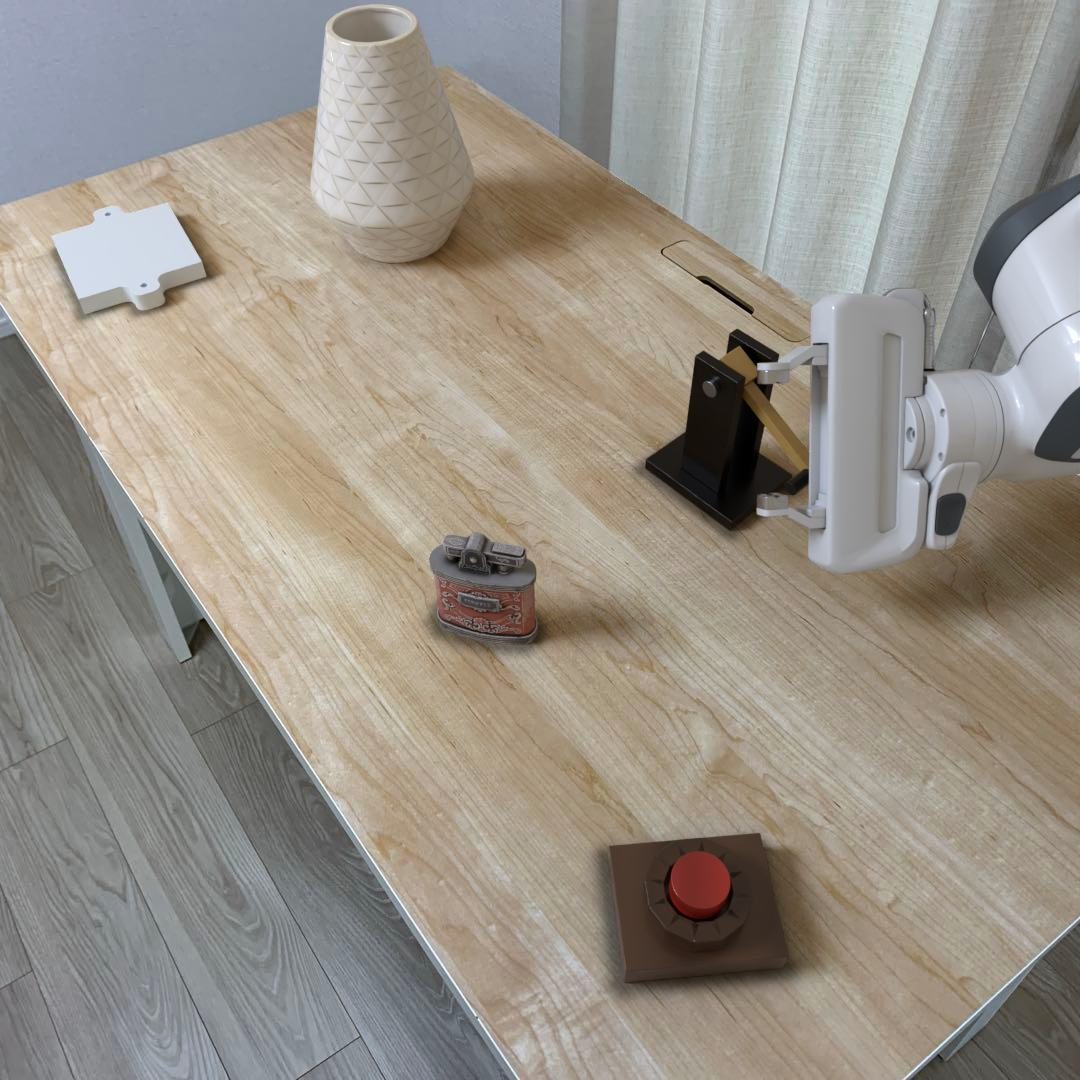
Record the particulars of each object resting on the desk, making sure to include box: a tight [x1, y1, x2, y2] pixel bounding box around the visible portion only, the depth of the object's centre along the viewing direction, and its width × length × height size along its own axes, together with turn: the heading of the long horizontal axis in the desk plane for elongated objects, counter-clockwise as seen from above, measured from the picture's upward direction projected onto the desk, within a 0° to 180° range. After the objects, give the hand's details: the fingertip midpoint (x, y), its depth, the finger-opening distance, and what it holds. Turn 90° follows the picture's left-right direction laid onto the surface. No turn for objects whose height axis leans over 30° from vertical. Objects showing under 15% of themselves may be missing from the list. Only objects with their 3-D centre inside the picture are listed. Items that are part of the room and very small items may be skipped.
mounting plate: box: [50, 202, 207, 315], centre depth 113 cm, size 18×13×2 cm
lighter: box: [428, 532, 539, 645], centre depth 79 cm, size 8×3×10 cm, turn 76°
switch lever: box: [718, 346, 809, 497], centre depth 83 cm, size 12×6×2 cm, turn 42°
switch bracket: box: [644, 328, 793, 532], centre depth 87 cm, size 10×8×14 cm
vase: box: [309, 3, 476, 264], centre depth 108 cm, size 17×17×23 cm
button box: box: [607, 832, 789, 983], centre depth 66 cm, size 10×8×4 cm
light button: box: [669, 851, 731, 919], centre depth 64 cm, size 4×4×2 cm
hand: (760, 440), depth 75 cm, fingers open, 8 cm apart
